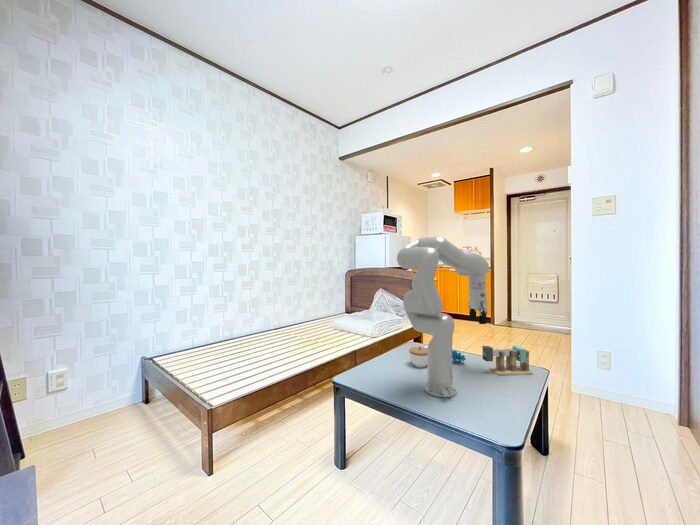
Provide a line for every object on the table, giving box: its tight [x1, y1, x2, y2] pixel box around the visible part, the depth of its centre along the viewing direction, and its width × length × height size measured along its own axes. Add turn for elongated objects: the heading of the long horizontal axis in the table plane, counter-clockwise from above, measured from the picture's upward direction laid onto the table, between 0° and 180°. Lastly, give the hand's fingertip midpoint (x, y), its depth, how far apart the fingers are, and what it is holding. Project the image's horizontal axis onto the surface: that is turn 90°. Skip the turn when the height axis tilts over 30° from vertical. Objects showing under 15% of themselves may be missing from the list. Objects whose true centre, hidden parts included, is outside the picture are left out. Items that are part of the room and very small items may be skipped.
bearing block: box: [488, 349, 533, 377], centre depth 134 cm, size 8×16×10 cm, turn 95°
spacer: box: [512, 345, 527, 363], centre depth 135 cm, size 6×2×6 cm, turn 5°
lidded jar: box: [408, 345, 428, 368], centre depth 144 cm, size 11×11×9 cm
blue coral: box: [452, 349, 467, 365], centre depth 147 cm, size 11×6×10 cm
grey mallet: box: [482, 345, 528, 362], centre depth 134 cm, size 4×20×6 cm, turn 95°
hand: (477, 321), depth 136 cm, fingers open, 9 cm apart
